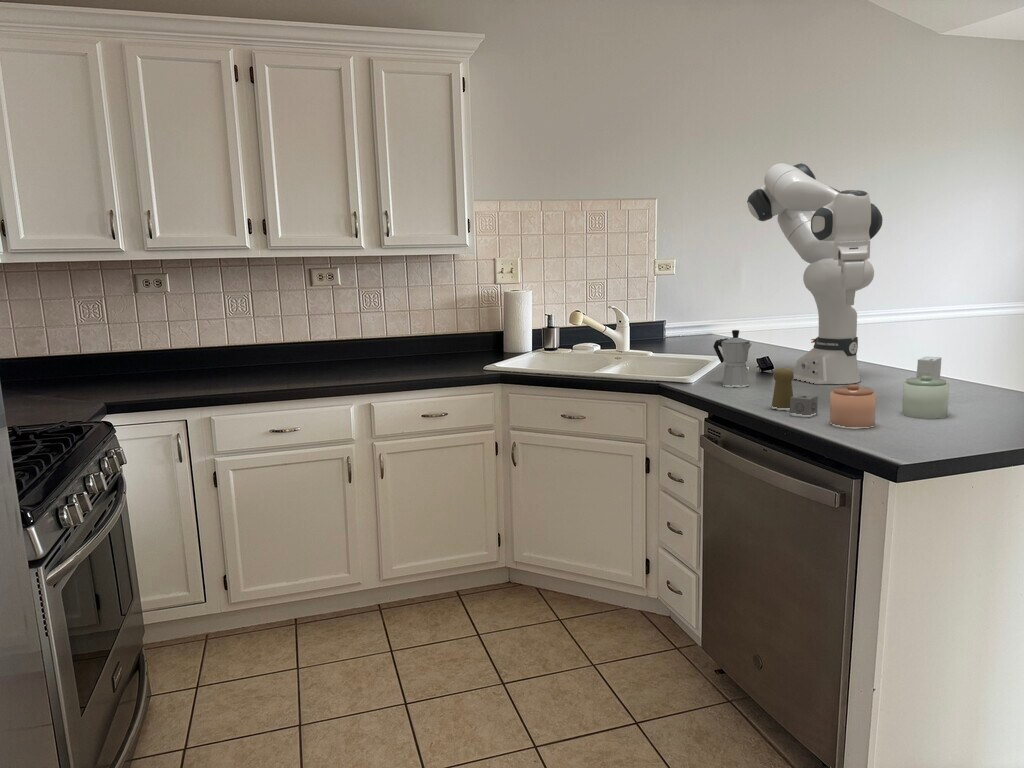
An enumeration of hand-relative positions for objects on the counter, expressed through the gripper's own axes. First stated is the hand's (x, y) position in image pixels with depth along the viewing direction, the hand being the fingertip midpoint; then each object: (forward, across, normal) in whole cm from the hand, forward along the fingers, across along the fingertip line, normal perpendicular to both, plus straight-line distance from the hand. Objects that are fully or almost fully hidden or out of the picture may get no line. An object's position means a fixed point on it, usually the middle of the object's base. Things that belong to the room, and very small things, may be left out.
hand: (849, 305), depth 194 cm
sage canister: (+27, +11, +17) cm, 34 cm away
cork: (+27, +8, -16) cm, 33 cm away
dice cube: (+27, +15, -11) cm, 33 cm away
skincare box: (+27, -5, +20) cm, 34 cm away
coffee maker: (+27, -26, -32) cm, 49 cm away
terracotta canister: (+27, +24, -1) cm, 36 cm away
